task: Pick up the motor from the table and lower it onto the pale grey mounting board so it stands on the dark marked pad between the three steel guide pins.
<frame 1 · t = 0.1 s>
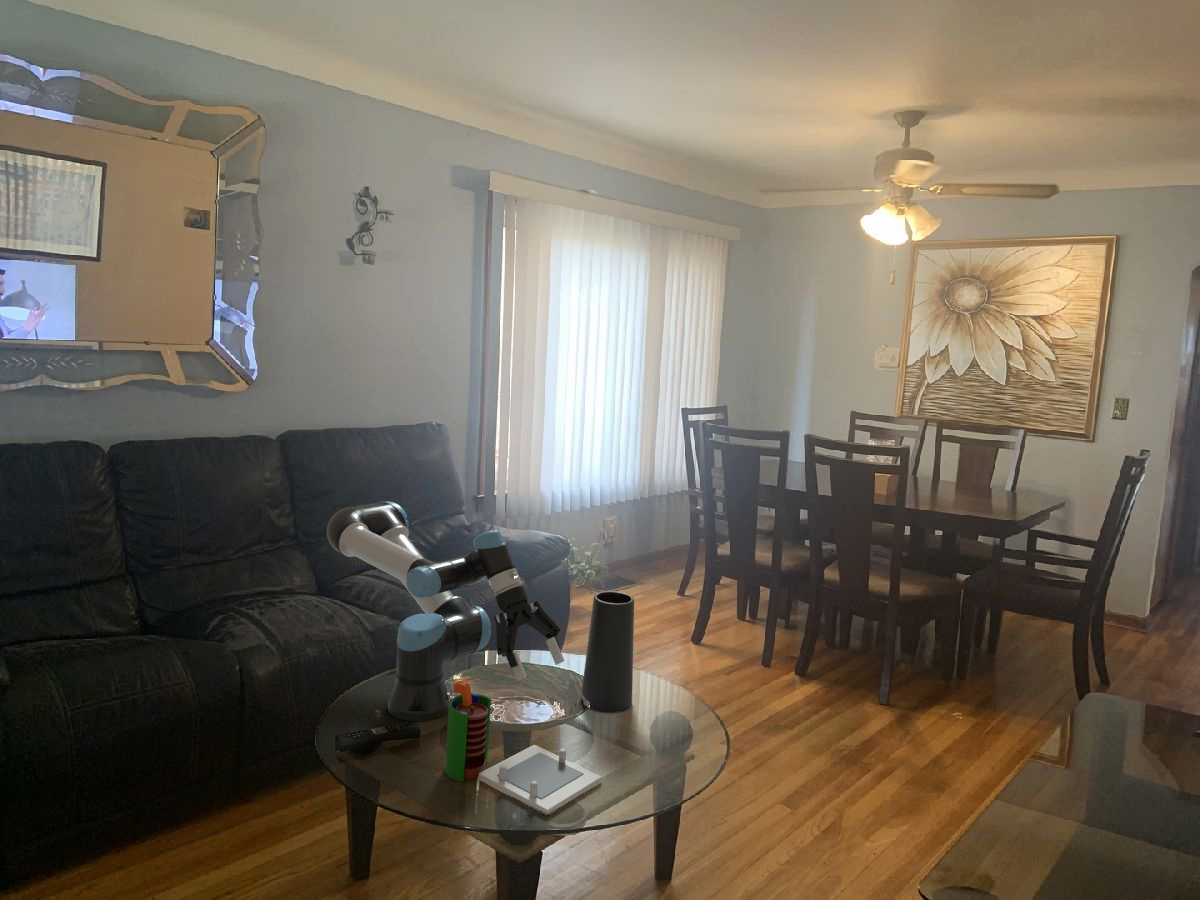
hand: (541, 671, 216), 15 cm above the table, tool tilted 35°, fingers open, 13 cm apart
vase: (606, 702, 237), on the table
mounting board: (540, 781, 195), on the table
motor: (465, 770, 198), on the table
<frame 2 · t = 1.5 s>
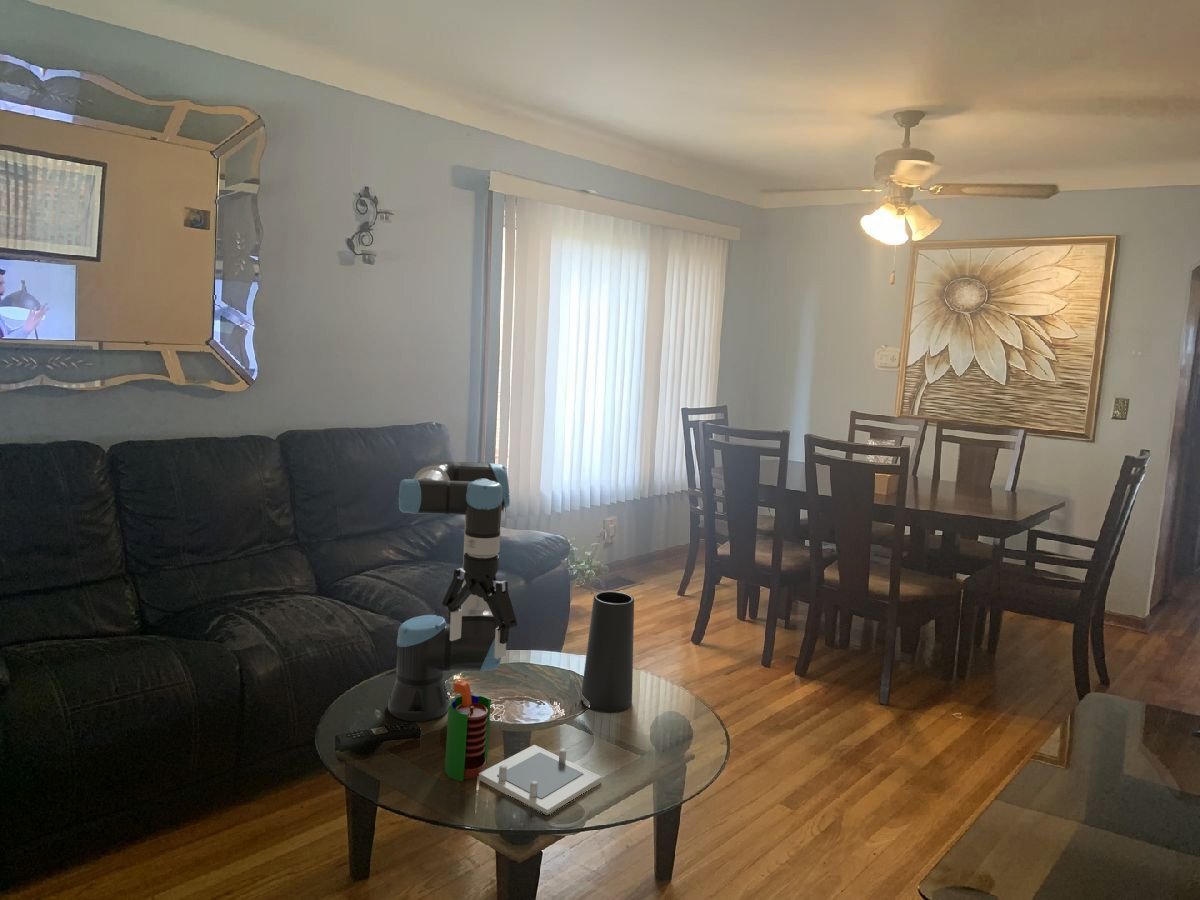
hand: (477, 647, 193), 29 cm above the table, tool pointing down, fingers open, 13 cm apart
nothing on the table moved.
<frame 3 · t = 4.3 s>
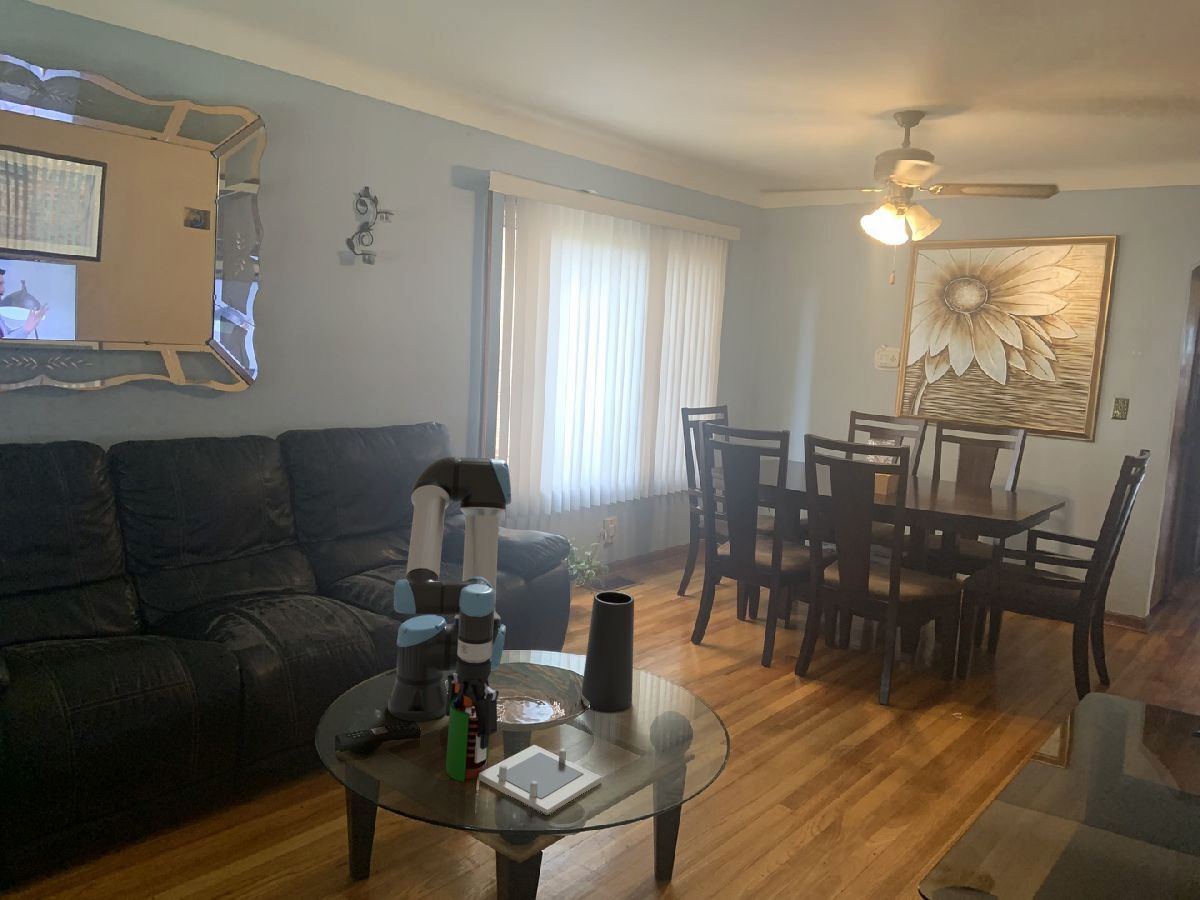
hand: (468, 754, 197), 4 cm above the table, tool pointing down, fingers closed on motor, 6 cm apart
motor: (466, 770, 198), on the table, touching gripper
everything else where it was.
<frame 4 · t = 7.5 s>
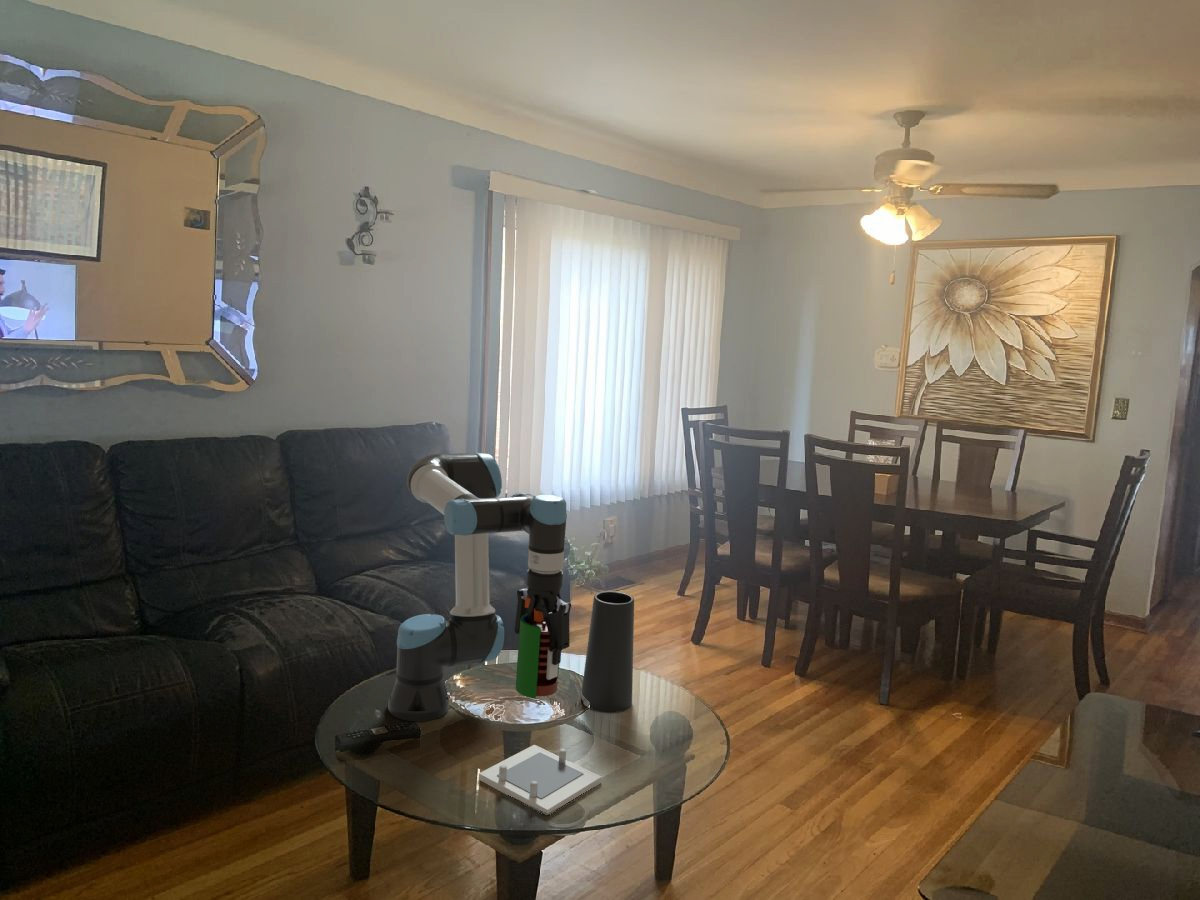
hand: (539, 672, 191), 25 cm above the table, tool pointing down, fingers closed on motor, 6 cm apart
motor: (536, 689, 192), point 21 cm above the table, touching gripper
everything else where it was.
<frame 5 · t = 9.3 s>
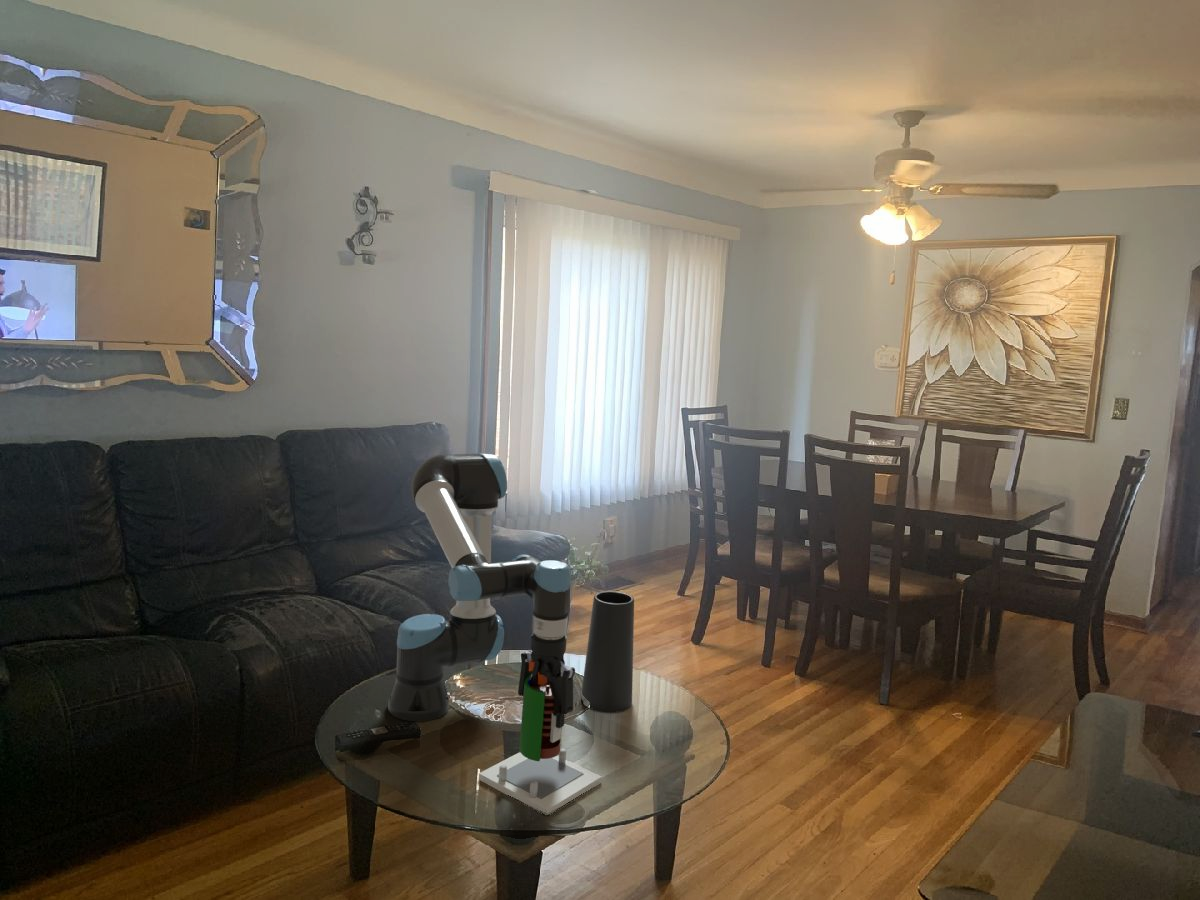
hand: (543, 734, 193), 11 cm above the table, tool pointing down, fingers closed on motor, 6 cm apart
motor: (539, 750, 194), point 7 cm above the table, touching gripper
everything else where it was.
when the fingers open (7 cm above the table, at t = 10.6 s): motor drops 2 cm, resting on mounting board.
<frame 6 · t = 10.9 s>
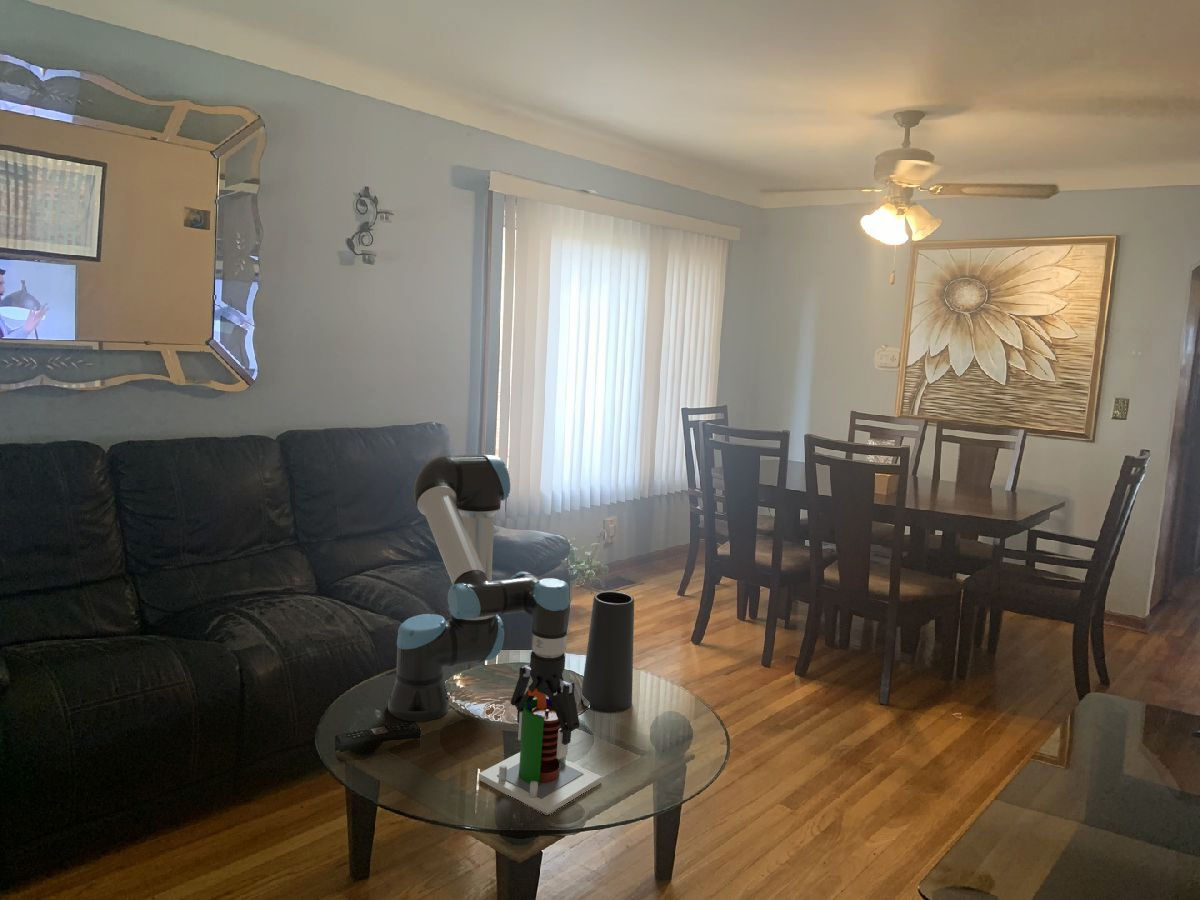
hand: (542, 747, 194), 8 cm above the table, tool pointing down, fingers open, 10 cm apart
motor: (539, 774, 195), point 1 cm above the table, touching mounting board
everything else where it was.
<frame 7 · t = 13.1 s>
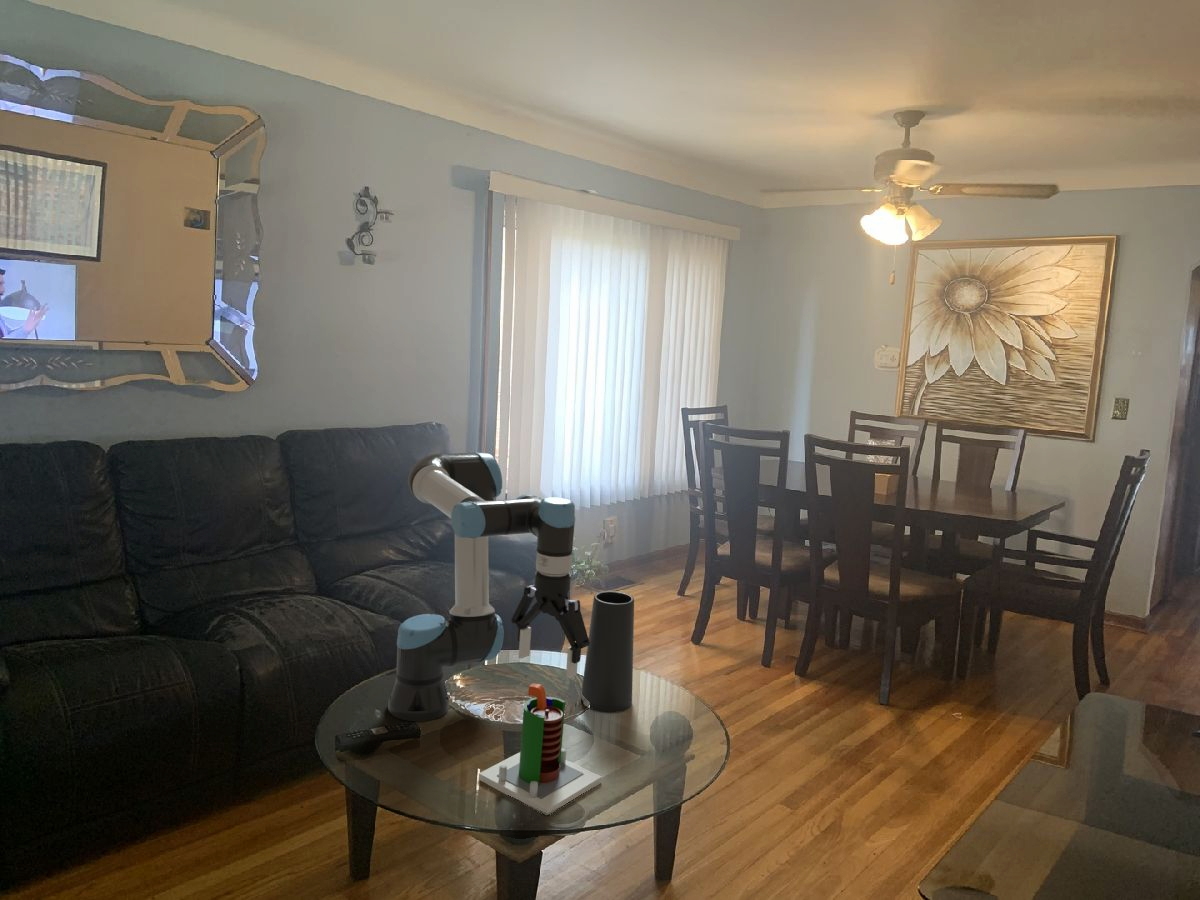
hand: (547, 666, 191), 27 cm above the table, tool pointing down, fingers open, 13 cm apart
nothing on the table moved.
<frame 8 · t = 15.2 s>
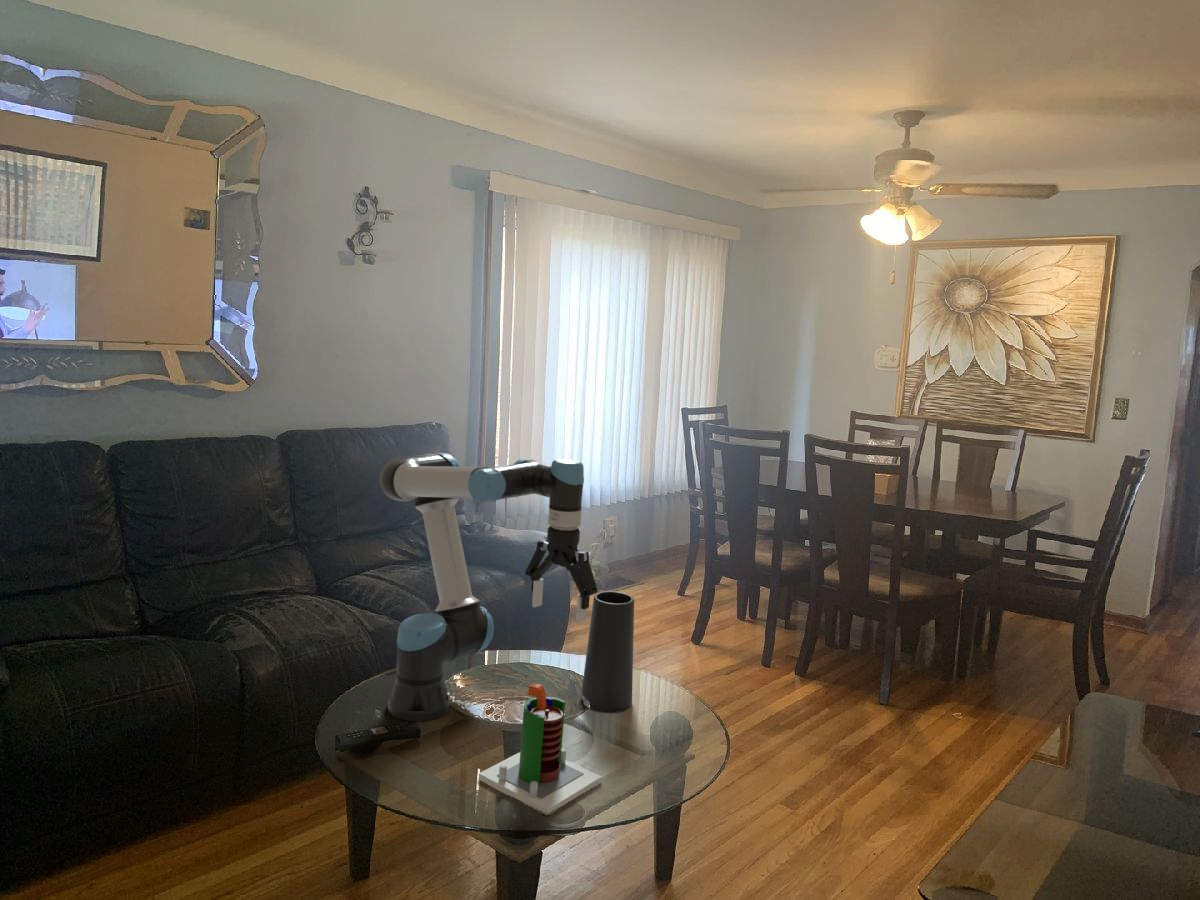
hand: (558, 613, 209), 32 cm above the table, tool pointing down, fingers open, 13 cm apart
nothing on the table moved.
at the end: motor 0.5 cm off-centre on the mounting board, point 1.5 cm above the mounting board's base; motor tilted 0°; the gripper is holding nothing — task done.
